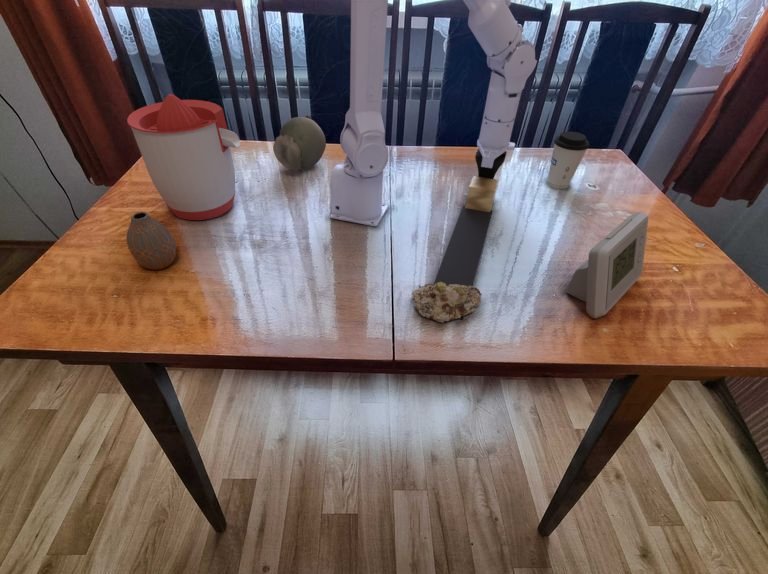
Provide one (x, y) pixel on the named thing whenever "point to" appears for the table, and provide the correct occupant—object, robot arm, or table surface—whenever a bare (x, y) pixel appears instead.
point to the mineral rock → (446, 301)
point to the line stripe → (464, 248)
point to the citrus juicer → (188, 155)
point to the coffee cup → (566, 158)
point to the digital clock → (611, 266)
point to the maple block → (481, 193)
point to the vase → (150, 242)
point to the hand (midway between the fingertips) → (483, 188)
